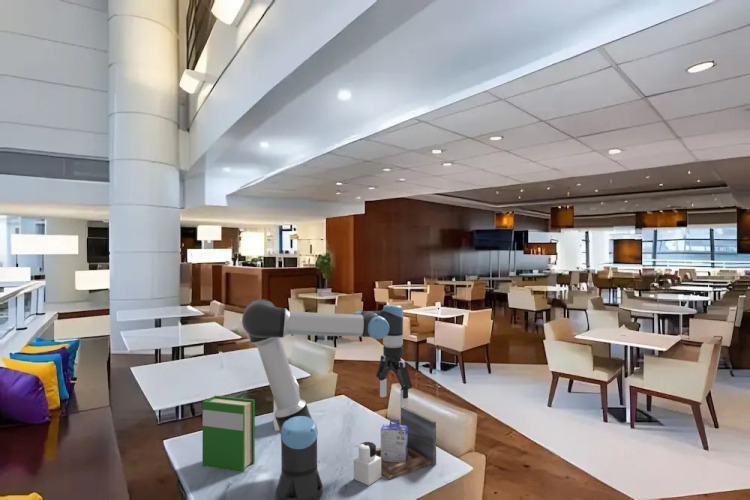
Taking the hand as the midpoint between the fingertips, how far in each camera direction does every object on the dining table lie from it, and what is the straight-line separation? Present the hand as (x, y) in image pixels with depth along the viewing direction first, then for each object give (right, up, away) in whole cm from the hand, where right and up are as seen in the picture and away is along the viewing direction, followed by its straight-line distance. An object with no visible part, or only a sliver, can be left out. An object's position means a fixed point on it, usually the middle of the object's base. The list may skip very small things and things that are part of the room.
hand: (393, 401), depth 162 cm
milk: (-49, -24, +37) cm, 66 cm away
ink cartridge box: (0, -22, 0) cm, 22 cm away
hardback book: (-62, -23, -2) cm, 67 cm away
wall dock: (+2, -23, 0) cm, 23 cm away
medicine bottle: (-10, -23, -12) cm, 28 cm away
